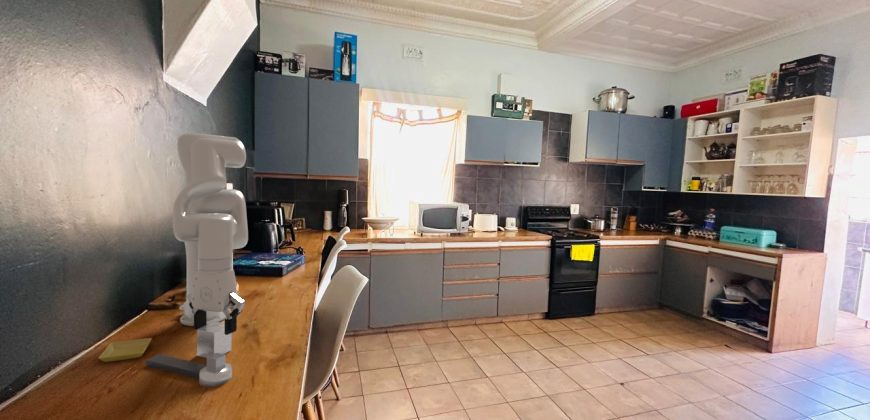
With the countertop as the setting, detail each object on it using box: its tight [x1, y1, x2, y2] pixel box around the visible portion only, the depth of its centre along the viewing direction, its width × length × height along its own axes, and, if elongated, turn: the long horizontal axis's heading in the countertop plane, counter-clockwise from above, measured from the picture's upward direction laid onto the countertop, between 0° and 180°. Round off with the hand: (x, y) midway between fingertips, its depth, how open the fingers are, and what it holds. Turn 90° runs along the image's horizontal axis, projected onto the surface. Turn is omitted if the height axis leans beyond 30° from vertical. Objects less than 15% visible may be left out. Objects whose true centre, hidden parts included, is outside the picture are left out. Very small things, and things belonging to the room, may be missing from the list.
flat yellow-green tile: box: [98, 337, 153, 363], centre depth 90 cm, size 9×9×2 cm
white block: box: [196, 321, 233, 359], centre depth 93 cm, size 5×5×7 cm
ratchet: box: [145, 353, 233, 388], centre depth 84 cm, size 22×6×5 cm, turn 75°
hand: (215, 330), depth 92 cm, fingers open, 9 cm apart
